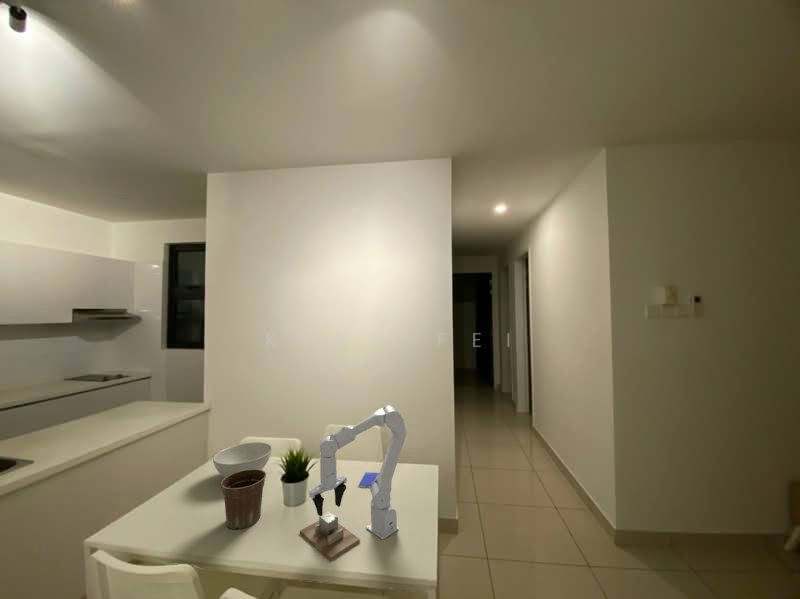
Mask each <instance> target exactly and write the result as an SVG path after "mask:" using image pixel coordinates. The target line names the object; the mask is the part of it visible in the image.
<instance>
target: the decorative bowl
mask: <svg viewBox="0 0 800 599" xmlns="http://www.w3.org/2000/svg"><path fill="white" fill-rule="evenodd" d="M272 451H273V447H272V445H270V444H269V443H266V442H258V441H257V442H255V441H254V442H253V441H252V442H244V443H239V444H235V445H232V446H229V447H226V448H224V449H222V450H220V451H219V452H217V453H216V454H215V455H214V456H213V457H212V462H213V465H214V467H215V468H214V469H216V471H217V472H218V473H219V474H220V476H222V478H223V479H224V478H226V477H227V476H229V475H231V474H233V473H236V472H239V471H243V470H248V469H259V470H263V469H264V468H265V466H266V465H267V463H268V462H269V460H270V457H271V455H272Z"/></svg>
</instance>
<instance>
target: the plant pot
mask: <svg viewBox="0 0 800 599" xmlns="http://www.w3.org/2000/svg"><path fill="white" fill-rule="evenodd" d="M266 477H267V472H266V471H265V470H263V469H262V470H259V469H248V470H243V471H239V472H236V473H233V474H231V475H229V476H227V477H226V478H224V477H223V479H222V480H221V481H220V487H221V488H222V495H223V499H224V508H225V509H224V510H225V523H226V527H227V528H229V529H232V530H236V529H245V528H249V527H250V526H252V525H254V524H256V523H257V522H258V521H259V519H260V517H261V514H262V503H263V502H262V501H263V492H264V487H265V480H266Z"/></svg>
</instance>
